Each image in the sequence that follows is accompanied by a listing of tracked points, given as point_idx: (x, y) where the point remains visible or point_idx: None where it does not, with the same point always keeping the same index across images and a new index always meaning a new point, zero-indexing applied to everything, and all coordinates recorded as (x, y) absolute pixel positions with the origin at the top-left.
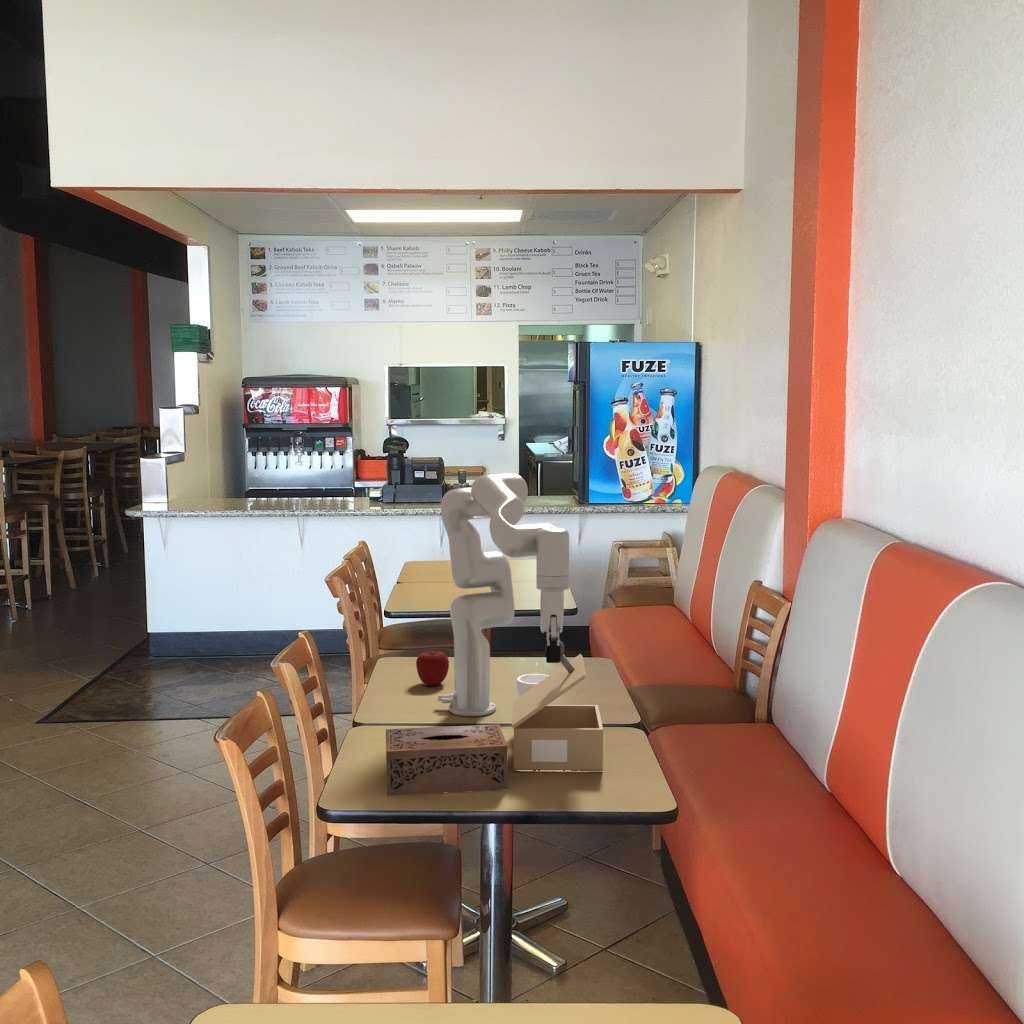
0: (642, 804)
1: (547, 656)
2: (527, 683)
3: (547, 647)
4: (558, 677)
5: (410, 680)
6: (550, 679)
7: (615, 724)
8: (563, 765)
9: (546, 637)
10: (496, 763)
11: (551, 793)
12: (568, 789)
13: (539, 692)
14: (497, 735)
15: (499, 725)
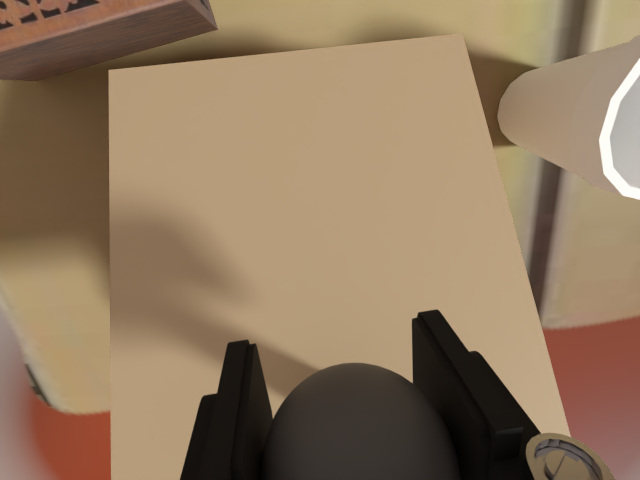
0: (73, 377)
1: (223, 385)
2: (619, 87)
3: (209, 471)
4: (380, 302)
5: None
6: (433, 244)
7: (538, 299)
8: None
9: (581, 447)
10: None
11: (58, 202)
12: (99, 238)
13: (332, 188)
14: (29, 10)
15: (170, 2)
